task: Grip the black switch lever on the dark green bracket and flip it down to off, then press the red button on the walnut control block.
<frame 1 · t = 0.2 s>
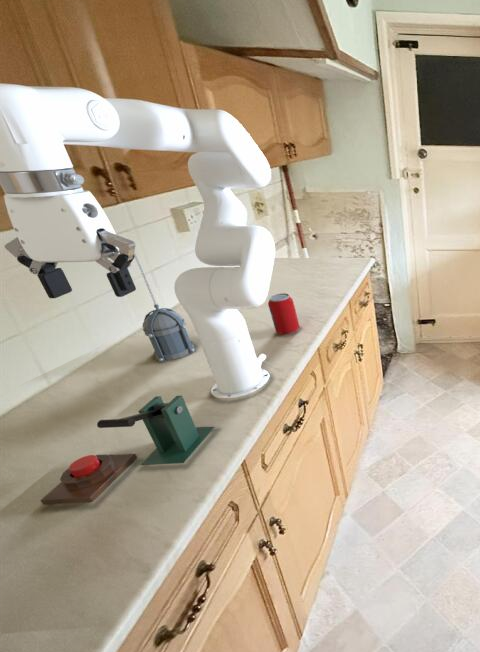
hand: (94, 294, 63), 36 cm above the countertop, tool pointing down, fingers open, 9 cm apart
red button: (84, 466, 72), point 5 cm above the countertop, slide at 0.2 cm
lantern: (175, 352, 115), on the countertop
control block: (96, 483, 74), on the countertop
beverage can: (288, 331, 127), on the countertop
switch bracket: (181, 448, 81), on the countertop
switch lever: (143, 415, 73), point 12 cm above the countertop, hinge at 28.0°
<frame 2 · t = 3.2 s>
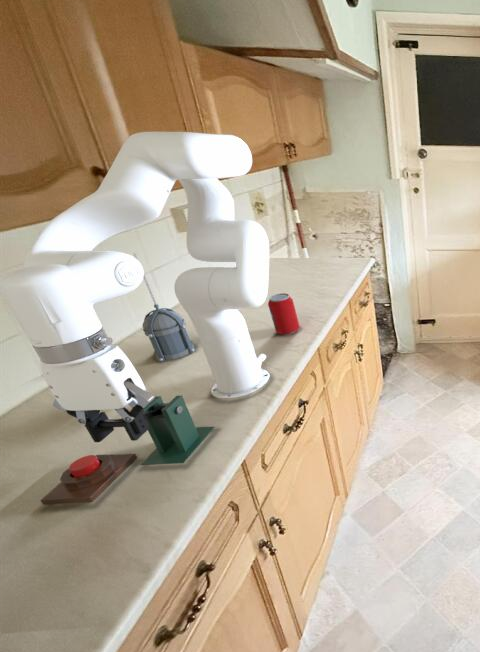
hand: (122, 434, 68), 12 cm above the countertop, tool pointing down, fingers closed on switch lever, 5 cm apart
switch lever: (143, 415, 73), point 12 cm above the countertop, hinge at 28.0°, touching gripper
everything else where it was.
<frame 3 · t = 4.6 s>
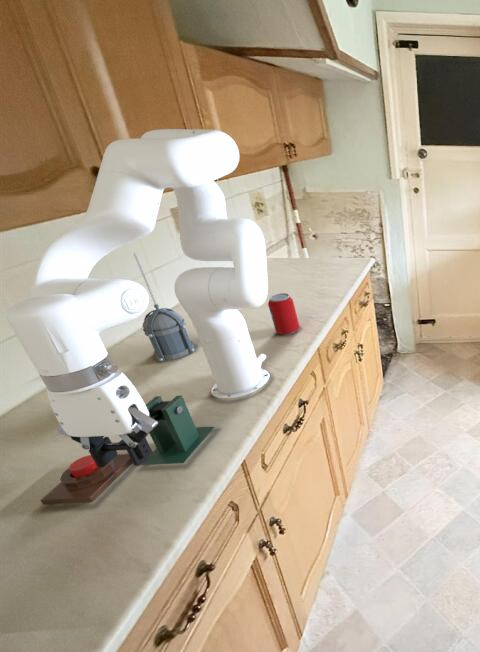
hand: (125, 459, 69), 8 cm above the countertop, tool pointing down, fingers closed on switch lever, 5 cm apart
switch lever: (145, 425, 73), point 10 cm above the countertop, hinge at 3.5°, touching gripper
everything else where it was.
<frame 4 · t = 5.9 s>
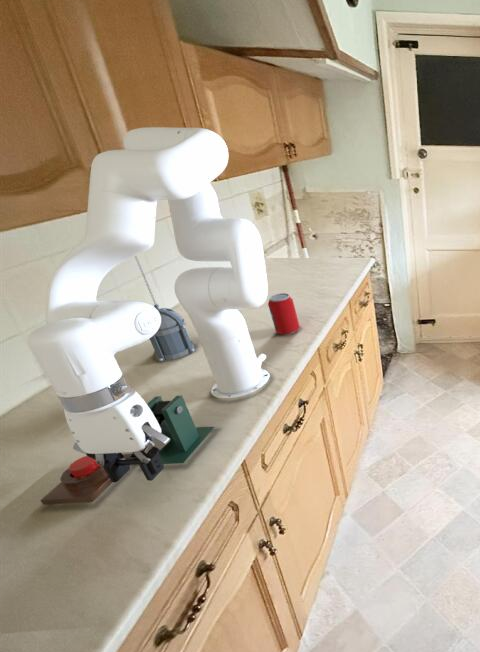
hand: (138, 474, 71), 4 cm above the countertop, tool pointing down, fingers open, 5 cm apart
switch lever: (150, 432, 74), point 8 cm above the countertop, hinge at -20.3°
everything else where it was.
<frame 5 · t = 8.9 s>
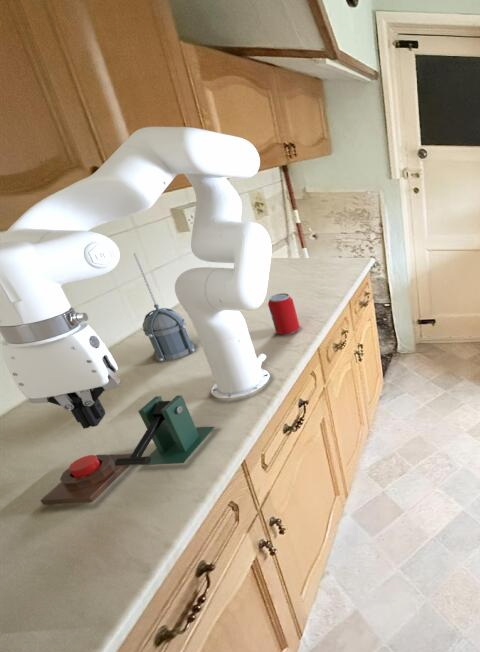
hand: (94, 421, 67), 15 cm above the countertop, tool pointing down, fingers closed
nothing on the countertop moved.
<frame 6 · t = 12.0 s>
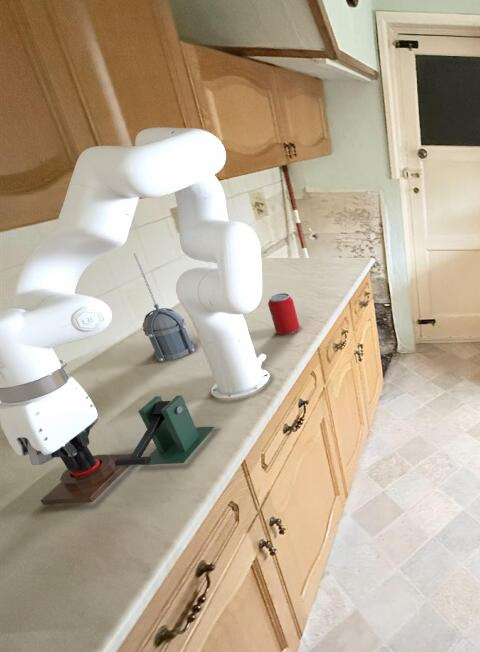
hand: (83, 467, 71), 5 cm above the countertop, tool pointing down, fingers closed
red button: (87, 469, 72), point 4 cm above the countertop, slide at -0.8 cm, touching gripper
everything else where it was.
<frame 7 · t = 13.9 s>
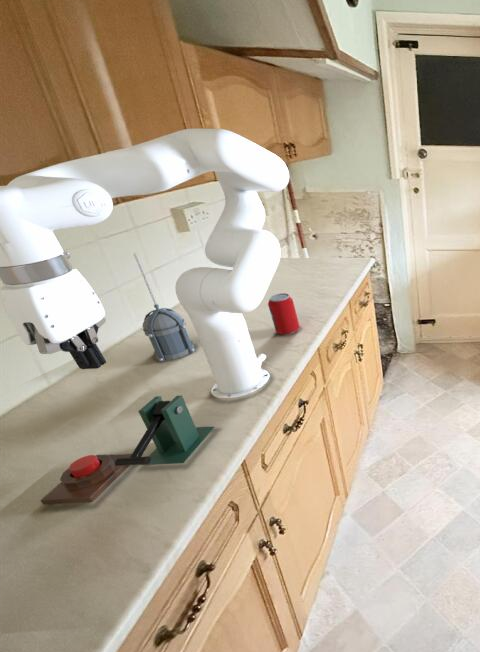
hand: (93, 365, 70), 22 cm above the countertop, tool pointing down, fingers closed
red button: (84, 466, 72), point 5 cm above the countertop, slide at 0.2 cm
everything else where it was.
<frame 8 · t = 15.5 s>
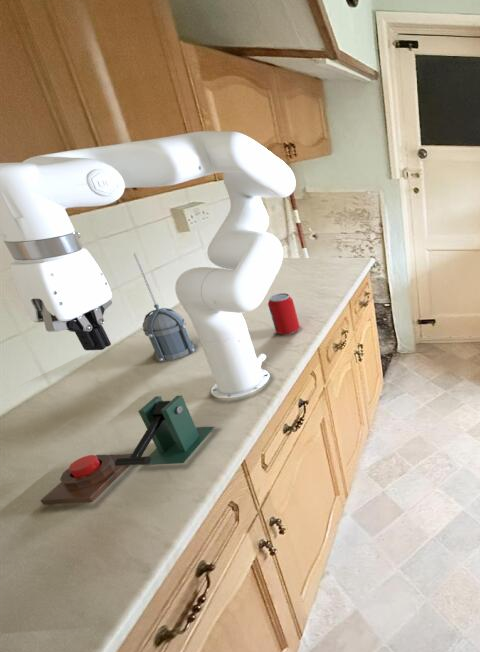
hand: (98, 347, 69), 25 cm above the countertop, tool pointing down, fingers closed
nothing on the countertop moved.
at the end: switch lever at -20° (first picture: +28°); red button pushed in 1.1 cm at the most during the clip, back to 0.2 cm at the end; red button slide at 0.2 cm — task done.
